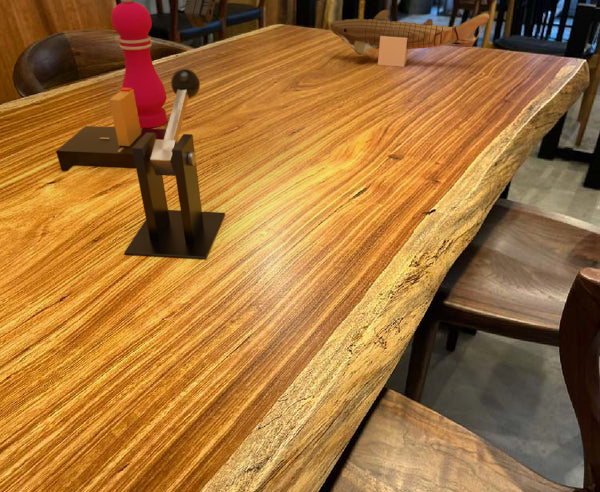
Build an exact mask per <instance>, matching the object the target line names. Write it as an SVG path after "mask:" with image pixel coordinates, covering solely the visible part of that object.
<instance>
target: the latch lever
mask: <svg viewBox="0 0 600 492" xmlns="http://www.w3.org/2000/svg"><path fill="white" fill-rule="evenodd" d="M170 79H171V80H170V85H171V86H170V87H171V89H172V92H174V94H175V97H174V101H173V104H172V108H171V111H170V115H169V118H168V123H167V126H166V128H165V129H166V133H165V137H164V140H159V139H156V140H155V143H154V147H153V150H152V154H151V157H150V161H151V164H152V166H153V169H154V171H155V173H156V175H162V176H167V177H176V175H175V169H174V162H173V155H172V149H173V148H174V146H175V145H176V144H177V142H178V141H179V136H180V132H181V129H182V125H183V120H184V116H185V112H186V109H187V105H188V101H189V100H190V99H192V98H194V97H196V96H197V95H198V93H199V92H200V88H201V83H200V78H199V77H198V75H197V74H196V72H194V70H192V69H189V68H180V69H178V70H176V71H175V72H174V73H173V74H172V77H171V78H170Z"/></svg>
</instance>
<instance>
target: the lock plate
mask: <svg viewBox="0 0 600 492" xmlns="http://www.w3.org/2000/svg"><path fill="white" fill-rule="evenodd" d="M140 129H141V135H140V136H139V137H138V138H137V139H136V140H135V141H134V142H133V143H132V144H131V145H130V146H119V144H118V139H117V134H116V130H115V126H91V125H85V126H84V127H82V128H81V129H79V131H78V132H76V133H75V134H74V135H73V136H72V137H70V138H69V139H68V140H67V141H66V142H65V143H63V144H62V145H61V146H60V147H59V148H58V149H56V150H55V152H56V157H57V159H58V163H59V167H60V170H61V171H62V172H69V170H71V169H72V168H73V167H92V168H112V169H113V168H115V169H136V165H135V160H134V154H133V149H132V148H133V147H134V146H135V145H136V144H137V143H138V141H139V140H140V139H141V138H142V137H143V136H144V135H145V134H146V133H156V139H159V140H164V137H165V133H166V129H167V128H140Z"/></svg>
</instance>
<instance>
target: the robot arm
mask: <svg viewBox="0 0 600 492" xmlns="http://www.w3.org/2000/svg"><path fill="white" fill-rule="evenodd" d="M216 3H217V0H185V4H184V9H183V10H184V14H185V16H186V18H187V20H188V21H189V23H190V25H191V27H192V28H203V29H204V28H206V27H207V24H210V22H211V21H212V20H213V16H214V15H213V14H214V11H215V7H216Z"/></svg>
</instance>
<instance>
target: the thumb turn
mask: <svg viewBox="0 0 600 492" xmlns="http://www.w3.org/2000/svg"><path fill="white" fill-rule="evenodd" d="M108 101H109V105H110V110H111V115H112V119H113V125H114V127H115V130H116V134H117V139H118V144H119V146H130V145H131V144H132V143H133V142H134V141H135V140H136V139H137V138H138V137H139V136H140V135H141V129H140V124H139V118H138V113H137V107H136V101H135V96H134V90H133V89H132V88H122V87H121V88H120V90H119V91H118V92H117V93H115V94H114V95H113V96H112V97H111V98H109V100H108Z"/></svg>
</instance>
